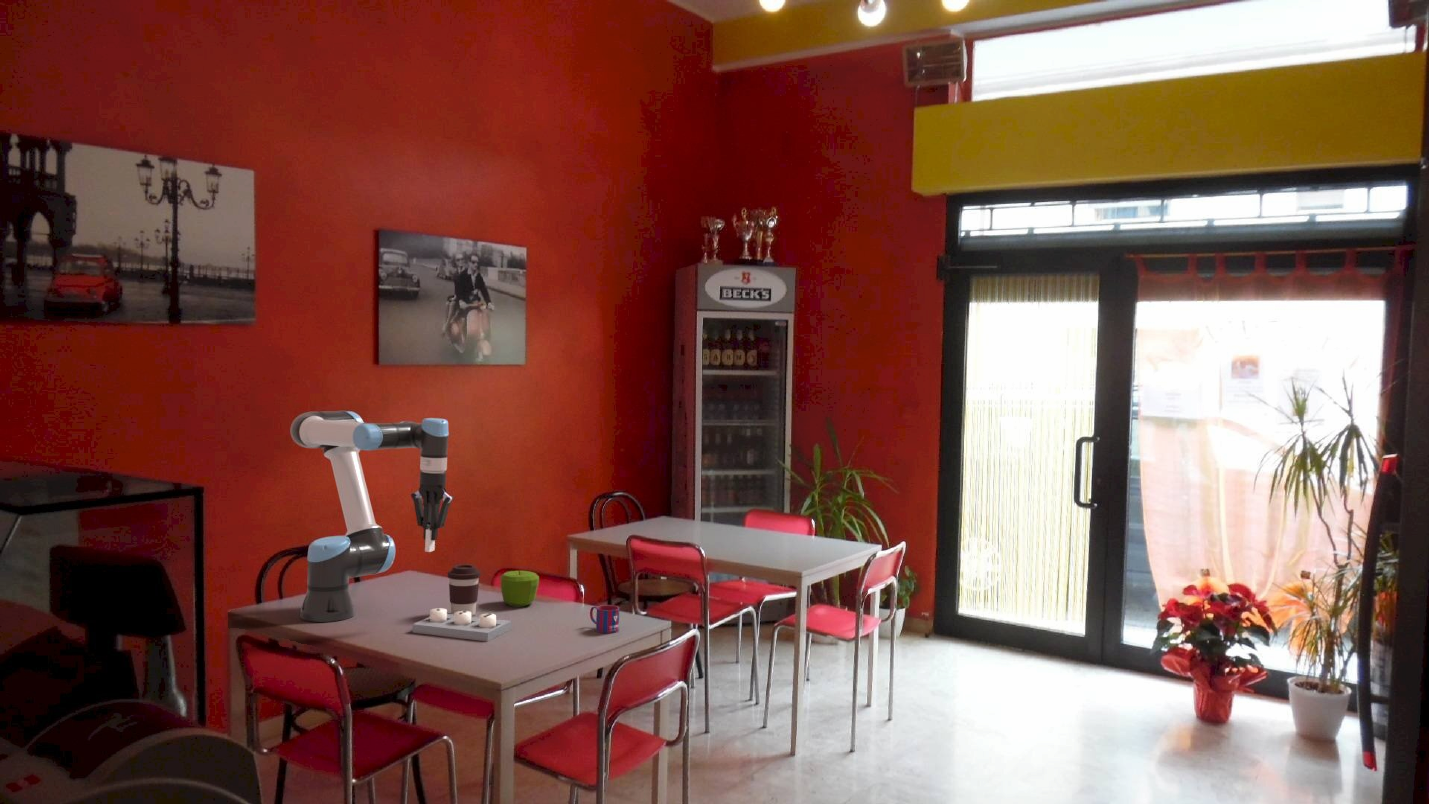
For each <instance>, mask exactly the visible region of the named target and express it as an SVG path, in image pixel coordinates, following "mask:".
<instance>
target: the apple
mask: <svg viewBox="0 0 1429 804" xmlns="http://www.w3.org/2000/svg"><path fill="white" fill-rule="evenodd" d="M539 584H540V576H539V575H538V574H537V572H533V571H529V570H528V571H527V570H521V569H519V570H510V571H506V572H504V573H503V574H502V575H501V576H500V588H501V596H502V601H503V602H505V603H506V605H507V606H509V607H512V606H513V607H514V608H520V607H521V608H522V607H526V606H528V605H530V604H531V603H533V602H535V601H536V597H537V592H538V587H539Z"/></svg>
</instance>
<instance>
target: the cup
mask: <svg viewBox="0 0 1429 804" xmlns="http://www.w3.org/2000/svg"><path fill="white" fill-rule="evenodd" d="M594 609H596V618H594V615H593V614H594V613H593V612H594ZM589 617H590V620H591V622H592V623H593V624H594V625H595V630H596V632H598V633H600V634H615V633H618V632H619V631H620V630H619V629H620V607H619V606H618V605H613V604H602V605H599V606H591V608H590V611H589Z"/></svg>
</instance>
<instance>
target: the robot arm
mask: <svg viewBox="0 0 1429 804" xmlns="http://www.w3.org/2000/svg"><path fill="white" fill-rule="evenodd" d="M289 433H290V437H291V438H292V440H293V442H294V443H295V444H296V445H298V446H300V447H302V448H305V449H322V452H323V456H324V458H327V459H328V460H330V462H331V463H330V464H331V468H332V471H333V476H334V480H335V485H336V488H337V491H338V492H337V493H338V497H339V501H340V504H341V509H342V513H343V518H344V521H345V526H346V529H347V530H346V533H345V535H334V536H325V537H321V538H317V539H315V540H314V541H312V542H311V543H310V544H309V546H308V551H307V557H306V559H307V585H306V586H307V591H306V594H305V597H304V599H303V602H302V604H301V605H302V606H301V608H300V619H301V620H303V621H306V622H312V623H313V622H315V623H316V622H318V623H322V622H323V623H328V622H337V621H342V620H343V621H344V620H347V619H349V618H352V617H354V616H355V606H354V602H353V599H352V595H351V593H350V589H349V588H350V587H349V585H350V584H349V583H350V579H351V578H358V577H364V576H369V575H377V574H379V573H384V572H386V571H388V570H390V568H391V567H392V565H393V563H394V561H395V557H396V544H395V542H394V540H393V537H391V536H390V535H388V534H386V533H385V534H384V530H383V527H382V526H381V525H379V524H377V523H376V519H375V516H374V512H373V507H372V504H371V500H370V495H369V490H368V487H367V484H366V480H365V474H364V470H363V466H362V462H361V459H360V454H359V453H360V452H361V451H375V450H376V451H377V450H388V449H389V450H390V449H391V450H392V449H411V448H412V449H419V450H420V462H419V463H420V464H419V465H420V467H419V469H420V470H421V471H420V472H419V480H418V481H419V487H418V488H417V489H418V490H417V491H416V492H412V493H411V494H410V497H411V498H412V501H413V505H414V511H415V512H414V513H415V517H416V522H417V526H418V527H421V528H422V529H423V537H422V538H423V540H424V542H425V543H424V544H425V547H424V552H428V553H431V552H433V551H435V548H436V545H435V544H436V542H435V541H436V540H438V534H439V533H438V532H439V531H438V530H439V529H441V528H444V527H445V524H446V520H447V518H448V513H449V510H450V505H451V503H452V502H453V500H454V496H452V495H449V494H448V493H447V489H446V484H447V473H446V471H447V469H448V451H449V450H448V449H449V435H450V433H449V421H448V419H445V418H438V417H435V418H434V417H429V418H428V417H427V418H423V419H422V421H421V422H414V421H410V420H407V421H400V422H392V423H385V422H384V423H383V422H382V423H378V422H377V423H375V422H374V423H373V422H364V420H363V419H362V417H361V416H360V415H359V414H358V413H356V412H354V411H349V410H347V411H346V410H335V411H334V410H330V411H329V410H327V411H307V412H304V413H301V414H299V415H298V416H297V417H295V419H293V421H292V423H291V426H290V432H289ZM442 501H443V502H442ZM441 503H442V504H441Z"/></svg>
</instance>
